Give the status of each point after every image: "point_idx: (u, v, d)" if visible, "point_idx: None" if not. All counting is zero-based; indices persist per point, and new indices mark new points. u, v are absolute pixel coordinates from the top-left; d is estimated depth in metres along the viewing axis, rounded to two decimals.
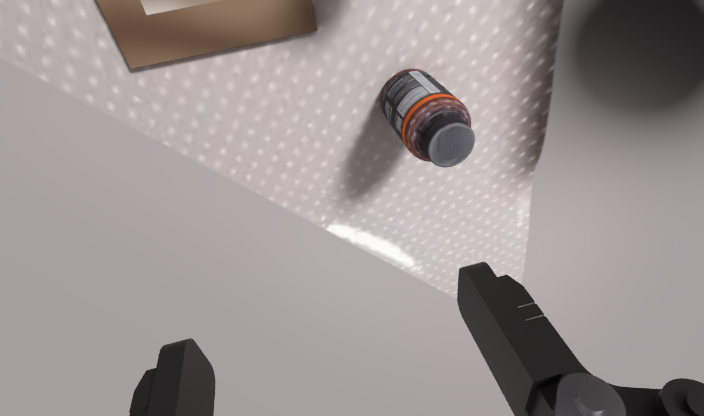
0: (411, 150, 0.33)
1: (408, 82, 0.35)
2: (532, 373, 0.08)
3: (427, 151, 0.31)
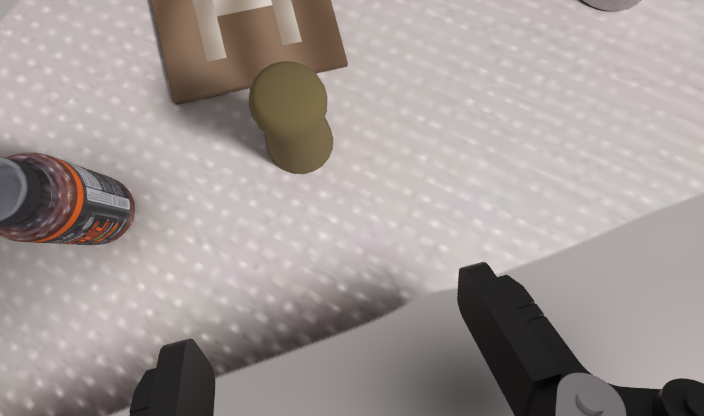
0: None
1: (111, 187, 0.30)
2: (532, 373, 0.08)
3: None
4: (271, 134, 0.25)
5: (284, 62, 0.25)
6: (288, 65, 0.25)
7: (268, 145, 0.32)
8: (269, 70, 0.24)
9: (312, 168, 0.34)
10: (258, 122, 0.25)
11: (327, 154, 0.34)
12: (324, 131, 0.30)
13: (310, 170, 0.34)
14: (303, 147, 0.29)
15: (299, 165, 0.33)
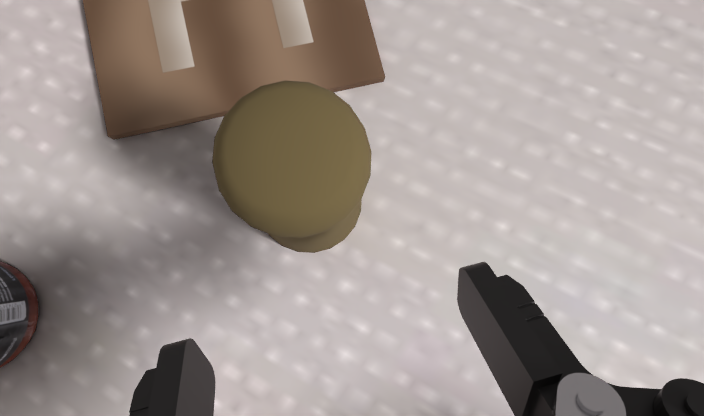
0: None
1: None
2: (532, 373, 0.08)
3: None
4: None
5: (286, 84, 0.12)
6: (294, 90, 0.12)
7: None
8: (254, 102, 0.12)
9: (329, 246, 0.21)
10: (231, 207, 0.12)
11: (353, 223, 0.21)
12: None
13: (326, 247, 0.21)
14: None
15: (309, 246, 0.20)
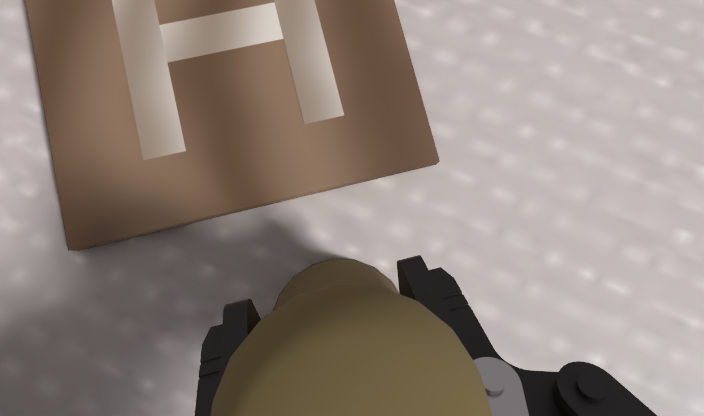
0: None
1: None
2: None
3: None
4: None
5: (346, 320, 0.06)
6: (364, 340, 0.06)
7: None
8: (287, 369, 0.06)
9: None
10: None
11: None
12: None
13: None
14: None
15: None
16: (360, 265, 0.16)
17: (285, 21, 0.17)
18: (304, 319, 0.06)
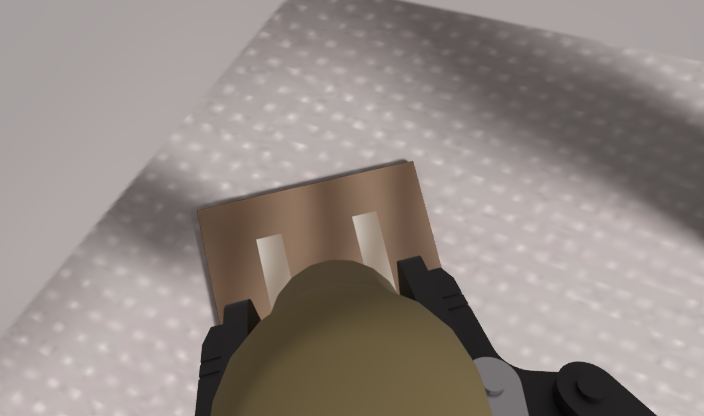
0: None
1: None
2: None
3: None
4: None
5: (347, 321, 0.06)
6: (365, 341, 0.06)
7: None
8: (288, 370, 0.06)
9: None
10: None
11: None
12: None
13: None
14: None
15: None
16: (358, 266, 0.16)
17: None
18: (305, 320, 0.06)
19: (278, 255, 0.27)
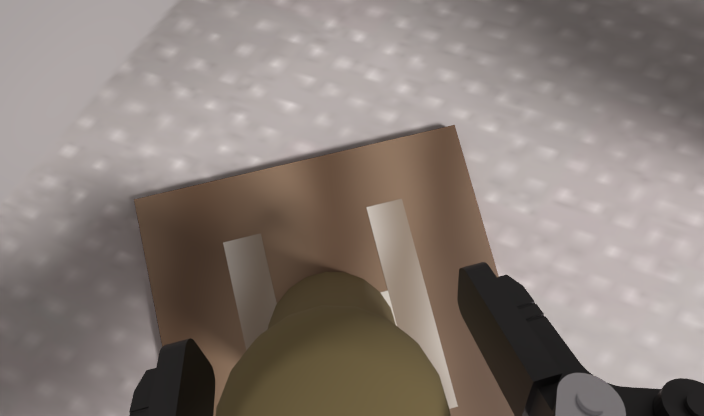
0: None
1: None
2: (532, 373, 0.08)
3: None
4: None
5: (326, 340, 0.08)
6: (340, 357, 0.07)
7: None
8: (278, 381, 0.07)
9: None
10: None
11: None
12: None
13: None
14: None
15: None
16: (349, 278, 0.17)
17: (399, 310, 0.18)
18: (291, 339, 0.08)
19: (256, 265, 0.18)
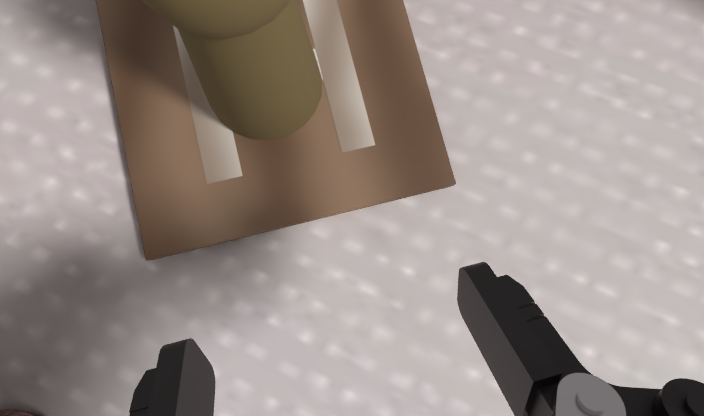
0: None
1: None
2: (532, 373, 0.08)
3: None
4: (166, 11, 0.10)
5: None
6: None
7: (200, 81, 0.17)
8: None
9: (285, 128, 0.19)
10: None
11: (311, 104, 0.19)
12: (302, 46, 0.15)
13: (282, 132, 0.19)
14: (259, 72, 0.14)
15: (259, 120, 0.18)
16: None
17: (324, 64, 0.20)
18: None
19: None
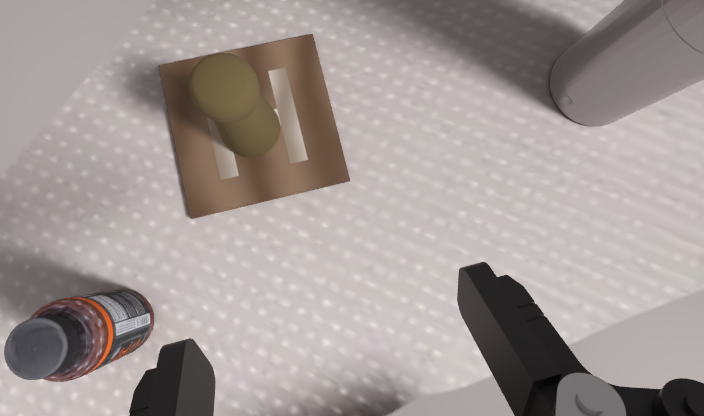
0: (40, 309, 0.28)
1: (135, 308, 0.33)
2: (532, 373, 0.08)
3: (31, 318, 0.26)
4: (209, 116, 0.29)
5: (219, 53, 0.28)
6: (222, 56, 0.28)
7: None
8: (205, 61, 0.28)
9: (260, 151, 0.38)
10: (196, 106, 0.29)
11: (273, 139, 0.38)
12: (265, 116, 0.34)
13: (259, 153, 0.38)
14: (245, 130, 0.33)
15: (246, 148, 0.36)
16: None
17: (282, 117, 0.39)
18: None
19: None
